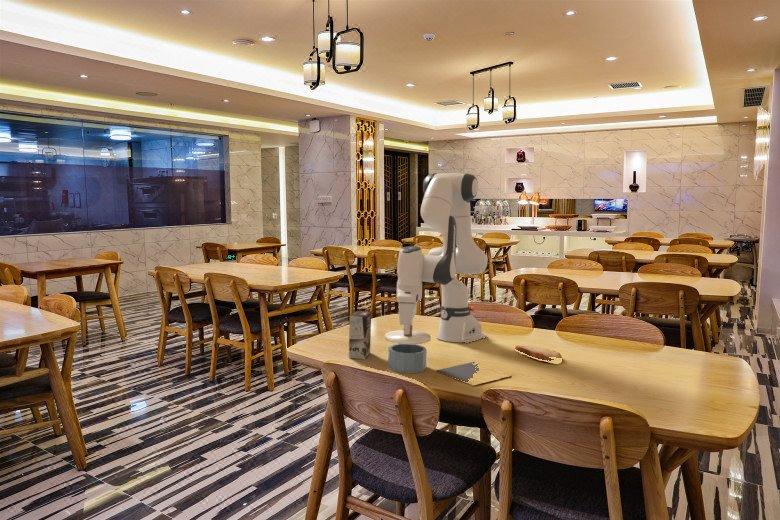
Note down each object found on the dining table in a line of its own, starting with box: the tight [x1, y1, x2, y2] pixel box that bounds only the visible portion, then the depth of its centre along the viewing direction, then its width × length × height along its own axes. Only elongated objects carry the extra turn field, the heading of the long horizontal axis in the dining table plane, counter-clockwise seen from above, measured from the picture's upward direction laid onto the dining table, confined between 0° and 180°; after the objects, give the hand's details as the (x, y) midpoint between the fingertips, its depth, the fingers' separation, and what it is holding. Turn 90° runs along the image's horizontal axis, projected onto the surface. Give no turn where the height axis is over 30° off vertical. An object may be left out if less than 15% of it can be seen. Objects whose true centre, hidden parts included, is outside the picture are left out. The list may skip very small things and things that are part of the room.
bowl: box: [387, 343, 427, 374], centre depth 195 cm, size 13×13×7 cm
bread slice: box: [514, 345, 563, 361], centre depth 213 cm, size 18×18×4 cm
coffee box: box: [348, 310, 372, 360], centre depth 208 cm, size 9×6×16 cm
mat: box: [436, 361, 479, 382], centre depth 190 cm, size 18×18×1 cm
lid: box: [384, 324, 432, 345], centre depth 194 cm, size 16×16×4 cm
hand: (407, 332), depth 194 cm, fingers closed on lid, 3 cm apart
